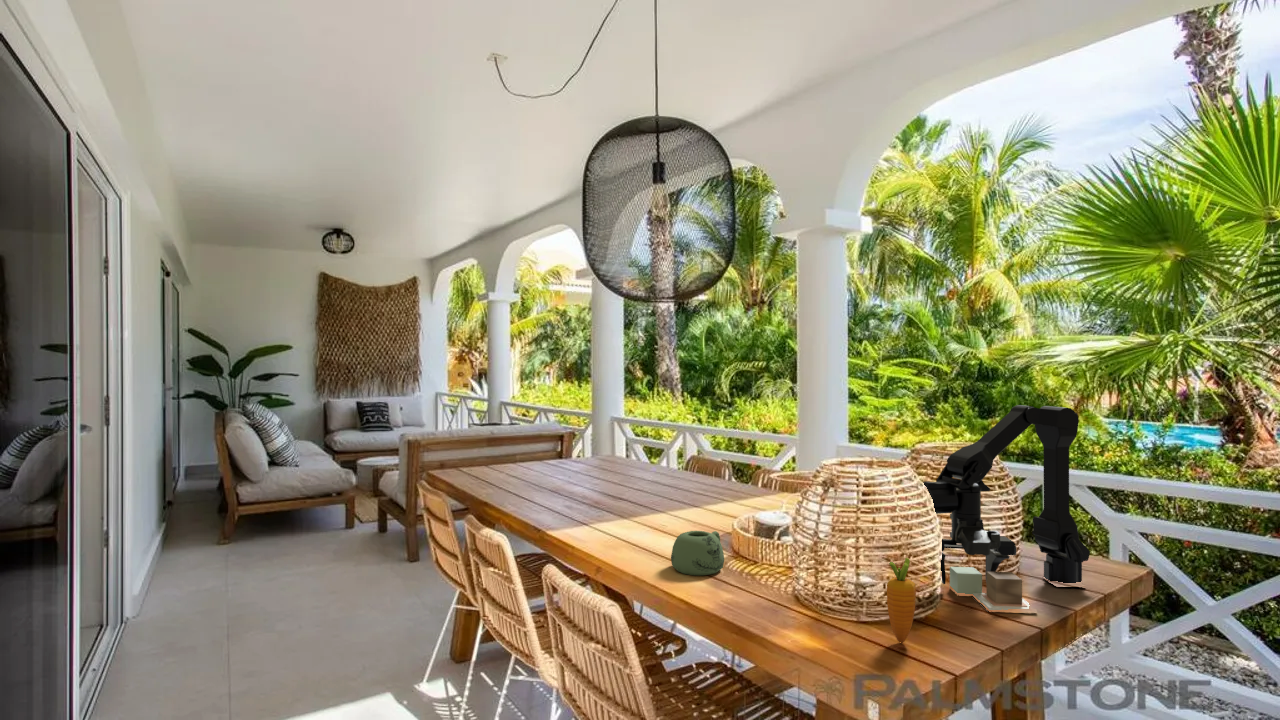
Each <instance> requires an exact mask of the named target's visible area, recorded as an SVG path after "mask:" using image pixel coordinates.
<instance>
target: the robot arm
mask: <svg viewBox="0 0 1280 720" xmlns="http://www.w3.org/2000/svg"><path fill="white" fill-rule="evenodd" d="M1079 422H1080V418H1079V414H1078V412H1075V410H1074V409H1072V408H1071V407H1066V406H1065V407H1063V406H1054V405H1053V406H1052V405H1051V406H1050V405H1043V406H1041V407H1040V408H1038V407H1034V406H1031V405H1022V404H1017V405H1015V406H1012V407H1011V408H1010V410H1009V412H1008V413H1007V414H1005V416H1004V417H1003V418H1001V420H1000V419H999V421H998V422H996V424H994V425H993V426H992V427H991V428H990V429H989V430H988V431H987V432H986V433H984V434H983V435H982V436H981V437H980V438H979V439H978V440H977V441H976V442H973V443H972V444H969V445H966V446H963V447H961V448H960V449H958V450H956V451H954V452H953V453H951V454H950V455H949V456H948V457H947V460H946V463H945V466H944V467H943V469H942V470H941V472H940V474H939V475H938V477H937V478H936V480H935V481H927V480H926V481H923V482H922V484H923V483H924V485H925V486H926V487H927V489H928V491H929V493H930V495H931V497H932V499H933V503H934V508H935V512H936V514H935V515H939V514H949V518H950V519H951V532H949V536H950V539H947V538H942V560H941V571H942V581H941V583H942V585H945V584H946V581H947V578H946V577H947V576H946V567H945V566H946V564H945V560H946V557H947V556H946V554H945V553H944V551H945V549H959V550H960V549H962V550H964V553H965V554H967V555H969V556H975V555H977V556H978V555H979V556H980V555H981V556H985V583H986V585H987V571H988V572H997V569H998V568H999V566H1000V564H1001V563H1002V562H1003V561H1005V560H1008V559H1010V556H1017V545H1016V543H1015V542H1014V541H1013V540H1012V539H1010V538H1008V537H1007V536H1005V535H1001V533H1000V532H999V531H998V530H985V528H984V521H983V519H982V517H981V516H982V515H981V514H982V511H981V509H982V508H981V507H982V506H981V505H982V503H981V502H982V501H981V500H982V499H981V498H982V497H981V496H982V495H981V494H982V493H981V492H990V491H991V488H990V487H989V486H988V485H987V484H985V483H984V481H983V480H984V479H985V477H986V476H987V475H988V473H989V472H990V471H991V470H992V468H993V463H994V460H995V459H996V457H997V456H998V455H1000V453H1002V452H1003V451H1004V450H1005V449H1006V448H1007V447H1008V446H1010V445H1011V443H1012V442H1014V441H1015V440H1016V439H1017V438H1018V437H1019V436H1020V435H1022V434H1023V433H1024V431H1026V430H1027V429H1028V428H1029V427H1030V426H1032V425H1034V428H1035V433H1036V435H1037V438H1038V439H1039V441H1040V442H1041V444H1042V447H1043V509H1042V511H1041V513H1040V514H1039V516H1033V517H1032V524H1033V528H1032V532H1031V534H1032V535H1034V540H1035V542H1036V543H1037V544H1038V547H1039V551H1040V553H1042V554H1043V553H1044V554H1045V560H1044V561H1043V577H1045V578H1046V579H1048V580H1050V581H1058V582H1063V583H1076V582H1081V581H1082V582H1083V563H1084V562H1087V561H1089V558H1090V555H1091V551H1090V550H1089V549H1088V547H1086V545H1085V544H1084V543H1083V542H1082V541H1081V540H1080V537H1079V531H1078V524H1077V523H1076V522H1075V520H1074V518H1073V516H1072V513H1071V512H1070V447H1071V446H1072V445H1073V442H1074V440H1075V439H1076V437H1077V436H1078V430H1079Z"/></svg>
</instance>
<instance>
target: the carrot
mask: <svg viewBox="0 0 1280 720" xmlns="http://www.w3.org/2000/svg"><path fill="white" fill-rule="evenodd" d="M910 562H911V559H910V558H908V557H905V558H904V563H903V565H902V567H901V568H900V567H898V568H897V566H896V563H895V564H894V563H893V562H890V563H889V566H890V567H891V569H892V571H893V573H894V575H895V577H892V578H890V579H889V580H888V582H886V583H887V584H886V600H887V601H886V604H887V605H886V606H887V612H888V618H889V623H890V626H891V629H892V632H893V635H894V637H895V638H896V640H897V642H898V643H900V642H901V643H902V644H904V642H905V641H906V640H907V638H908V636H909V634H910V632H911V629H912V626H913V622H914V617H915V611H916V601H917V599H916V598H917V597H916V596H917V587H916V583H915V582H914V581H912V580H911V579H909V578H906V577H907V574H908V572H909V566H910ZM901 643H900V644H901Z"/></svg>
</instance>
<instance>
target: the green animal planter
mask: <svg viewBox="0 0 1280 720" xmlns="http://www.w3.org/2000/svg"><path fill="white" fill-rule="evenodd" d="M670 560H671V566H672V568H674V569H675V570H676V571H677V572H678V573H681V574H683V575H689V576H701V577H702V576H709V575H715V574H717V573H718V572H719V571H721V570H722V569H723V568H724V563H725V554H724V549H723V545H722V543H721V537H720V533H719V532H718V531H716V530H715V531H712V532H708V531H704V530H690V531H686V532H682V533H680V534H679V535H677V537H676V538H675V540H674V542H673V545H672V550H671V555H670Z"/></svg>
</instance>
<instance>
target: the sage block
mask: <svg viewBox="0 0 1280 720" xmlns="http://www.w3.org/2000/svg"><path fill="white" fill-rule="evenodd" d="M950 586H951V587H952V588H953V589H954V590H955V591H956V592H957V593H965V594H973V593H983V573H981V572H980V571H979V570H978V569H976V568H975V567H973V566H972V567H971V566H970V567H969V566H949V587H950Z"/></svg>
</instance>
